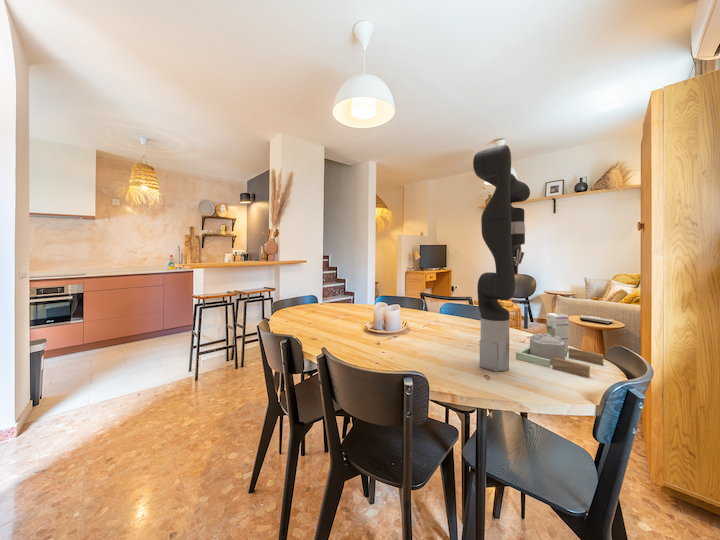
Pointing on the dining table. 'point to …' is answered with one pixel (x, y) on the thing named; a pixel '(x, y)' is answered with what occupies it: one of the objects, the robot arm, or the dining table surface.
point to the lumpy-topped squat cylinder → (547, 346)
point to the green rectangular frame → (533, 357)
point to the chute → (577, 367)
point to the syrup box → (558, 327)
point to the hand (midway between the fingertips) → (514, 274)
